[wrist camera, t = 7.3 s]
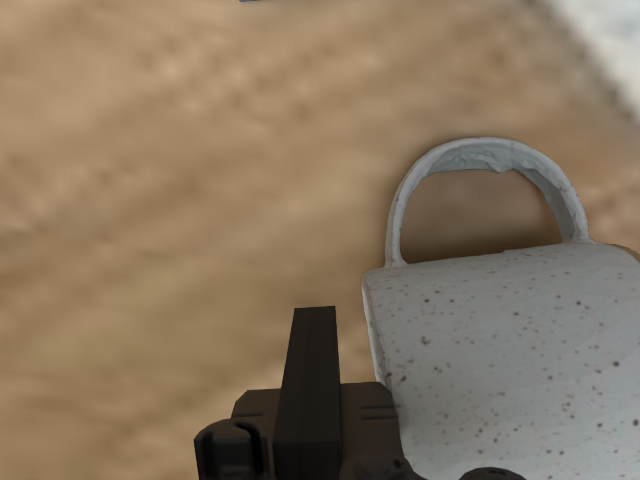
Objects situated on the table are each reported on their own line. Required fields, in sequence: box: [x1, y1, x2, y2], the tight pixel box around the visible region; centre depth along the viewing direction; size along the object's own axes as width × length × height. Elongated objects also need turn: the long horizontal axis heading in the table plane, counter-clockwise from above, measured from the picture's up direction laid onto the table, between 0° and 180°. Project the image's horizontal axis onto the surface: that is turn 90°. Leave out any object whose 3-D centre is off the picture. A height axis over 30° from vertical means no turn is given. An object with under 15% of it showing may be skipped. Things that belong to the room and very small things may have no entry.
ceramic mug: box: [361, 137, 640, 480], centre depth 16 cm, size 11×8×8 cm
